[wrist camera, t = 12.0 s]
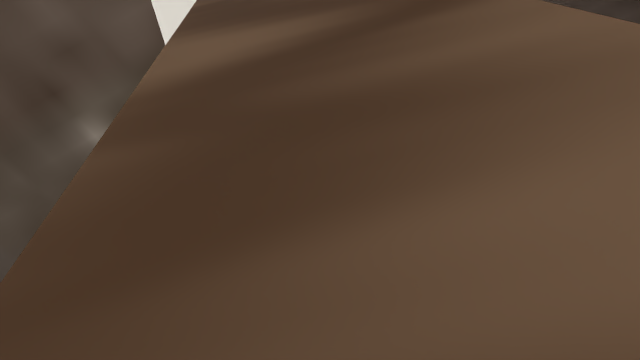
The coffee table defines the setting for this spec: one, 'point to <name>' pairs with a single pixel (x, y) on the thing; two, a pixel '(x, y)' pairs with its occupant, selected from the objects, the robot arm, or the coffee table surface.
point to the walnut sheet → (353, 192)
